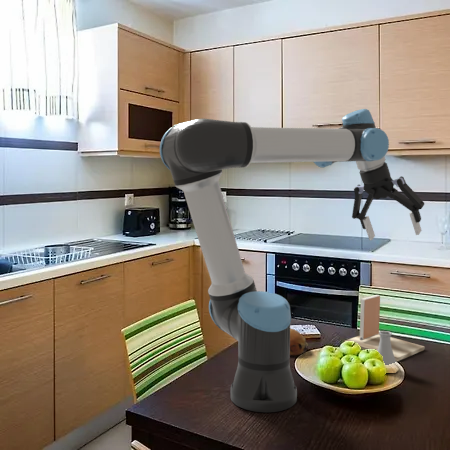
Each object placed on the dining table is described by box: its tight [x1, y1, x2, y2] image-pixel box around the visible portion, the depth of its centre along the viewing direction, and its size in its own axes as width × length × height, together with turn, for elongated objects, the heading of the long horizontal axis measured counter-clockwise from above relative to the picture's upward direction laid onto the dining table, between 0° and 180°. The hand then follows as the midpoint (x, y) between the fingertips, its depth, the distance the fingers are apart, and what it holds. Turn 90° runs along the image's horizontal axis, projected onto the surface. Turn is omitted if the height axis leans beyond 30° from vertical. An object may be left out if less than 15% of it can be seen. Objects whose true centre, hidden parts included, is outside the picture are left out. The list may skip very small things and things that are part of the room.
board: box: [343, 334, 426, 362], centre depth 152 cm, size 14×18×1 cm
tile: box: [359, 294, 381, 340], centre depth 155 cm, size 8×1×12 cm, turn 130°
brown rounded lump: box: [290, 327, 309, 356], centre depth 149 cm, size 10×10×8 cm
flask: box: [377, 330, 397, 365], centre depth 134 cm, size 7×7×10 cm
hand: (394, 235), depth 145 cm, fingers open, 13 cm apart
